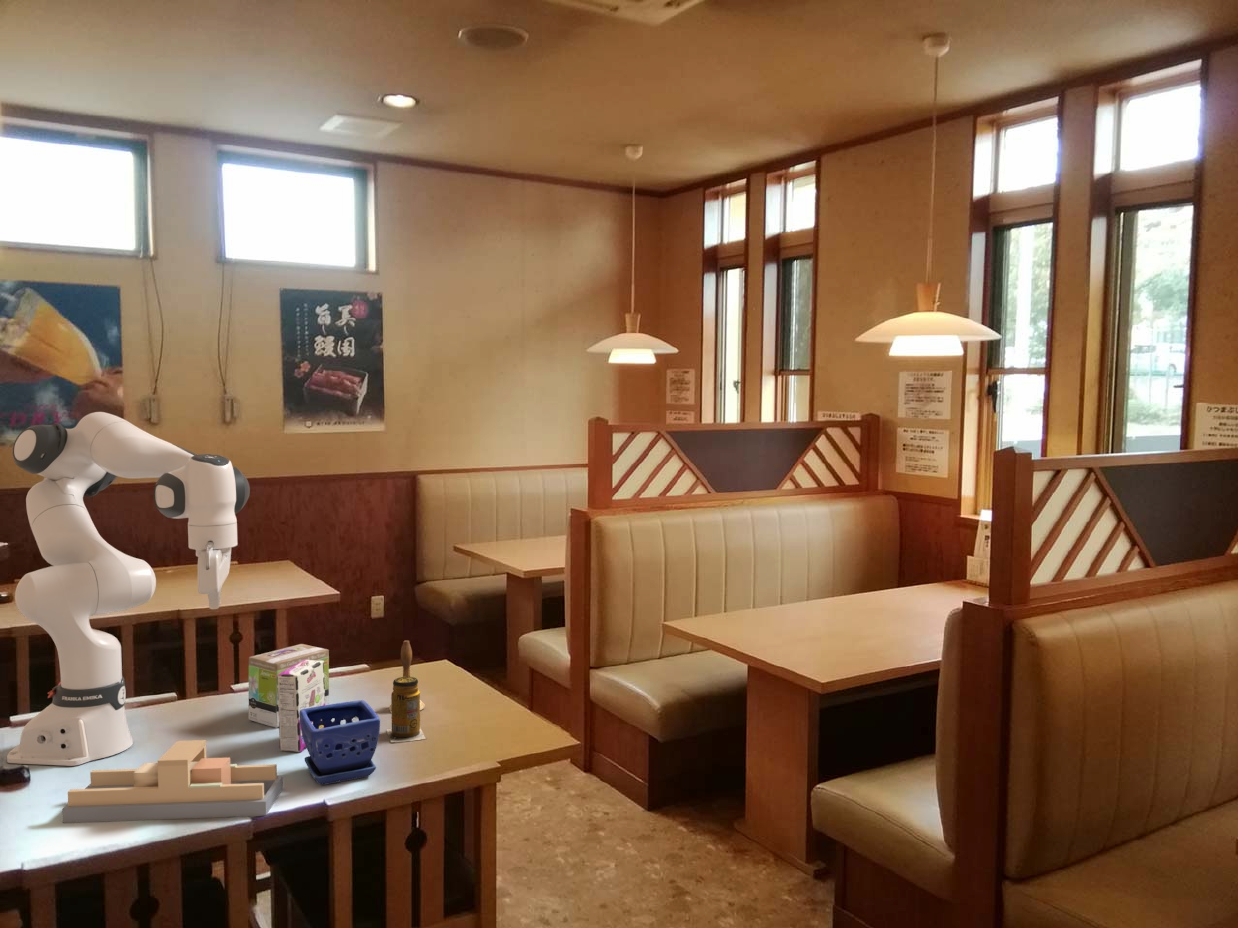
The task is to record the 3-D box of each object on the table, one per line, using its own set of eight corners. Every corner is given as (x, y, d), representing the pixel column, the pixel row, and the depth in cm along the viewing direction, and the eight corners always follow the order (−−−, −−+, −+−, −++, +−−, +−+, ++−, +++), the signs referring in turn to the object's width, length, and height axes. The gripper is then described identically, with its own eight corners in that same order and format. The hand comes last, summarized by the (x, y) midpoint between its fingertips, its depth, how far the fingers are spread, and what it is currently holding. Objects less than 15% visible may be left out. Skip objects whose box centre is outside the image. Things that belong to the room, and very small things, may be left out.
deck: (62, 822, 163) (60, 765, 162) (93, 794, 175) (91, 741, 174) (266, 815, 166) (264, 759, 166) (283, 787, 178) (281, 735, 177)
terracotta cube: (192, 796, 168) (191, 768, 168) (202, 784, 173) (201, 758, 173) (221, 795, 168) (221, 768, 168) (230, 784, 173) (230, 757, 173)
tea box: (277, 729, 209) (275, 663, 208) (247, 720, 214) (246, 656, 213) (330, 710, 222) (329, 647, 221) (301, 702, 227) (300, 641, 226)
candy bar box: (305, 732, 207) (304, 658, 206) (327, 734, 206) (325, 659, 205) (277, 751, 196) (275, 673, 195) (299, 753, 195) (298, 674, 194)
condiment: (419, 726, 211) (419, 673, 210) (425, 739, 203) (425, 684, 202) (386, 730, 209) (385, 676, 208) (390, 743, 201) (390, 687, 200)
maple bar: (134, 797, 167) (133, 772, 167) (144, 787, 172) (144, 762, 171) (193, 795, 168) (192, 771, 168) (202, 785, 173) (201, 761, 172)
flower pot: (383, 778, 183) (382, 717, 182) (312, 792, 176) (311, 729, 175) (365, 755, 194) (364, 698, 193) (298, 767, 188) (296, 708, 187)
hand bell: (385, 705, 226) (384, 638, 224) (420, 700, 229) (419, 635, 228) (392, 715, 218) (391, 647, 217) (428, 710, 222) (428, 643, 220)
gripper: (224, 545, 177) (226, 618, 178) (235, 530, 196) (237, 596, 198) (187, 546, 175) (190, 620, 176) (202, 531, 195) (204, 598, 196)
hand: (215, 607), depth 187 cm, fingers closed
